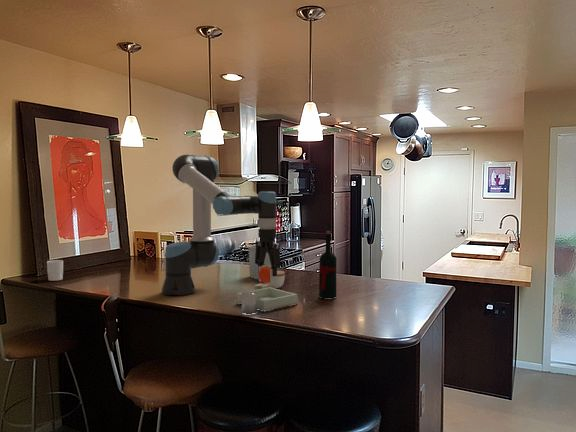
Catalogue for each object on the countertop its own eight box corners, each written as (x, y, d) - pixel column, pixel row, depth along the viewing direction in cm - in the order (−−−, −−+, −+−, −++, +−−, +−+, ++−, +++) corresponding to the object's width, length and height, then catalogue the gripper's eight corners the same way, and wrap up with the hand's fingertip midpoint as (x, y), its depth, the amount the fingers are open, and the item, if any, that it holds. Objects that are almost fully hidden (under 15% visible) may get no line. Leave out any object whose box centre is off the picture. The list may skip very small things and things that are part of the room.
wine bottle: (314, 299, 201) (314, 232, 199) (323, 294, 210) (323, 230, 208) (330, 301, 197) (331, 233, 195) (339, 296, 206) (339, 231, 204)
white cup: (66, 278, 245) (66, 260, 245) (58, 281, 238) (57, 262, 237) (53, 278, 246) (52, 259, 246) (43, 280, 238) (43, 262, 238)
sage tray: (237, 303, 193) (237, 293, 193) (270, 297, 205) (270, 287, 204) (263, 312, 179) (263, 301, 179) (297, 304, 191) (297, 294, 191)
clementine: (258, 280, 195) (258, 264, 195) (274, 280, 196) (274, 264, 196) (258, 284, 187) (258, 267, 187) (275, 284, 188) (275, 267, 188)
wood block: (253, 296, 207) (253, 285, 207) (260, 294, 211) (260, 283, 211) (262, 297, 204) (262, 286, 204) (269, 295, 209) (269, 284, 208)
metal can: (238, 313, 179) (238, 293, 178) (250, 310, 183) (250, 290, 182) (247, 316, 174) (247, 295, 174) (260, 313, 178) (260, 293, 178)
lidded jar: (265, 290, 218) (265, 271, 217) (261, 285, 228) (261, 267, 228) (287, 289, 221) (287, 270, 220) (281, 284, 231) (281, 266, 230)
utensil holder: (244, 279, 246) (244, 246, 245) (253, 274, 260) (253, 243, 259) (270, 280, 242) (270, 247, 241) (278, 275, 257) (278, 244, 255)
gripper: (289, 229, 185) (289, 284, 187) (259, 226, 200) (260, 277, 201) (275, 230, 180) (275, 287, 182) (246, 227, 195) (246, 280, 196)
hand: (267, 282), depth 191 cm, fingers closed on clementine, 7 cm apart
